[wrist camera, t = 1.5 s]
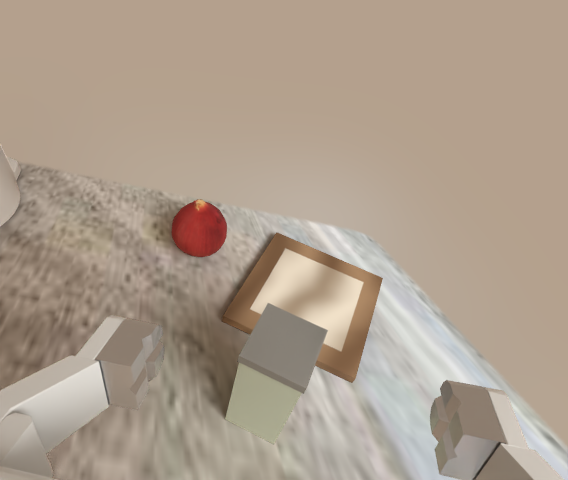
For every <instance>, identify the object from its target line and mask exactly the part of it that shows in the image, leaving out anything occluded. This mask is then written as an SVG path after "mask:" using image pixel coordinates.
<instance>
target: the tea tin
mask: <svg viewBox="0 0 568 480" xmlns="http://www.w3.org/2000/svg"><path fill="white" fill-rule="evenodd" d="M327 332H328V330H326V329H324V328H322V327H320V326H318V325H315V324H313V323H311V322H309V321H307V320H304V319H302V318H300V317H298V316H296V315H294V314H291V313H289V312H287V311H285V310H283V309H281V308H278V307H276V306H274V305H272V304H270V303H268V304H267V305H266V307H265V309H264V311H263V313H262V314H261V316H260V318H259V320H258V322H257V324H256V325H255V327H254V329H253V331H252V333H251V334H250V336H249V338H248V340H247V342H246V344H245V345H244V347H243V349H242V351H241V353H240V354H239V357H238V361H237V362H239V365H238V369H237V373H236V377H235V381H234V385H233V389H232V393H231V397H230V401H229V405H228V410H227V414H226V418H225V420H227V421H229V422H231V423H233V424H235V425H237V426H239V427H241V428H243V429H245V430H247V431H249V432H251V433H253V434H254V435H256V436H258V437H260V438H262V439H264V440H266V441H268V442H270V443H272V444H274V443H275V441H276V439H277V438H278V436H279V434H280V432H281V430H282V428H283V427H284V425H285V423H286V421H287V419H288V417H289V416H290V414H291V412H292V410H293V408H294V406H295V405H296V403H297V401H298V399H299V397H300V395H301V394H302V393H303V394H304V392H305V390H306V388H307V386H308V383H309V380H310V377H311V375H312V372H313V369H314V367H315V364H316V361H317V359H318V356H319V353H320V350H321V348H322V345H323V342H324V340H325V337H326V334H327Z"/></svg>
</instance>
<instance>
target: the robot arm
mask: <svg viewBox="0 0 568 480" xmlns="http://www.w3.org/2000/svg"><path fill="white" fill-rule="evenodd" d="M20 171H21V168H20V166H19V164H18V162H17V160H15V159H12V158H9V157H7V156H6V154H5V152H4V150H3V148H2V146H1V143H0V227H1V226H2V225H3V224H4V223H5V222H7V221H8V220H9V219H10V218H11V216H12V215H13V214H14V213H15V211H16V209H17V208H18V205H19V202H20V191H19V188H18V185H17V179H18V176H19V174H20ZM162 335H163V331H162V326H160V325H157V324H153V323H148V322H144V321H139V320H135V319H130V318H125V317H120V316H115V315H110V316H108V317H107V318H106V319H105V320H104V321H103V322H102V323H101V325H100V326H99V327H98V328H97V330H96V331H95V332H94V333H93V335H92V336H91V337H90V338H89V340H88V341H87V342H86V343H85V345H84V346H83V347H82V348H81V350H80V351H79V352H78V353H77V354H76V356H72V355H70V356H68V357H66V358H64V359H62V360H60V361H58V362H56V363H54V364H52V365H50V366H48V367H46V368H44V369H42V370H40V371H38V372H36V373H34V374H32V375H30V376H28V377H26V378H24V379H22V380H20V381H18V382H16V383H14V384H12V385H10V386H8V387H6V388H4V389H2V390H0V480H59V479H55V478H52V476H53V469H52V467H51V464H50V462H49V460H48V457H47V455H46V454H47V453H48V452H49V451H50V450H52V449H53V448H54V447H56V446H57V445H58V444H60V443H61V442H62V441H64V440H65V439H66V438H68V437H69V436H70V435H72V434H73V433H74V432H76V431H77V430H78V429H80V428H81V427H82V426H84V425H85V424H86V423H88V422H89V421H90V420H92V419H93V418H94V417H96V416H97V415H98V414H100V413H101V412H102V411H104V410H105V409H106V408H108V407H109V405H112V406H118V407H123V408H129V409H134V410H138V409H139V407H140V406H141V404H142V402H143V400H144V398H145V396H146V395H147V393H148V391H149V386H148V382H149V381H150V380H152V379H154V378H155V377H156V376H157V374H158V372H159V370H160V368H161V365H162V362H163V358H164V345H163V344H162V342H161V341H160V338H161V337H162ZM440 390H441V395H442V396H440V397H438V398H436V399H435V400H434V402H433V405H432V407H431V414H430V425H431V431H432V434H433V436H434V437H435V438H436V439H437V441H438V442H439V443H438V445H437V446H436V448H435V453H436V458H437V464H438V469H439V474H440V475H444V476H448V477H453V478H457V479H461V480H564V479H563V478H562V477H561V476H560V475H559V474H558V473H557V472H556V471H555V470H554V469H553V468H552V467H551V466H550V465H549V464H548V463H547V462H546V461H545V460H544V459H543V458H542V457H541V456H540V455H539V454H538V453H537V452H536V451H535V450H532V449H529V448H528V445H527V443H526V440H525V438H524V435H523V433H522V430H521V428H520V425H519V423H518V420H517V418H516V416H515V413H514V411H513V408H512V406H511V403H510V401H509V398H508V396H507V394H506V393H505V392H504V391H502V390H496V389H491V388H486V387H481V386H476V385H470V384H465V383H459V382H454V381H448V380H446V381H445V382H443V384H442V386H441V388H440Z"/></svg>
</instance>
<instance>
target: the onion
mask: <svg viewBox="0 0 568 480" xmlns="http://www.w3.org/2000/svg"><path fill="white" fill-rule="evenodd" d="M226 234H227V224H226V221H225V218H224V217H223V215H222V213H221V212H220V210H219V209H218V208H216V207H215V206H213V205H212V204H210V203H208V202H204V201H203V200H201V199H198V200H196V201H194V202H192V203H189V204H187V205H186V206H184V207H183V208H181V210H180V211H179V212H178V213H177V215H176V216H175V217H174V219H173V223H172V238H173V240H174V242H175V244H176V245H177V247H178V248H179V249H180V250H182V251H183V252H184V253H187V254H189V255H191V256H197V257H205V256H210V255H212V254H213V253H215V252H217V251H218V250H219V249H220V248H221V246H222V245H223V243H224V242H225V239H226Z"/></svg>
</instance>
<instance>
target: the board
mask: <svg viewBox="0 0 568 480" xmlns="http://www.w3.org/2000/svg"><path fill="white" fill-rule="evenodd" d="M382 279H383V278H381V277H379V276H377V275H374V274H372V273H370V272H367V271H365V270H363V269H360V268H358V267H356V266H353V265H351V264H349V263H346V262H344V261H342V260H339V259H337V258H335V257H333V256H330V255H328V254H326V253H323V252H321V251H319V250H316V249H314V248H312V247H309V246H307V245H305V244H302V243H300V242H298V241H295V240H293V239H291V238H288V237H286V236H284V235H281V234H279V233H276V234H275V236H274V237H273V239H272V240H271V242H270V244H269V245H268V247H267V248H266V250H265V251H264V253H263V254H262V256H261V257H260V259H259V261H258V262H257V264H256V265H255V267H254V268H253V270H252V271H251V273H250V274H249V276H248V278H247V279H246V281H245V282H244V284H243V285H242V287H241V288H240V290H239V291H238V293H237V295H236V296H235V298H234V299H233V301H232V302H231V304H230V305H229V307H228V309H227V310H226V312H225V313H224V315H223V318H222V321H223V322H225V323H227V324H229V325H231V326H233V327H235V328H237V329H239V330H242V331H244V332H246V333H248V334H251V333H252V331H253V329H254V327H255V325H256V324H257V322H258V320H259V318H260V316H261V314H262V313H263V311H264V309H265V307H266V305H267V304H268V303H270V304H272V305H274V306H276V307H278V308H281V309H283V310H285V311H287V312H289V313H291V314H294V315H296V316H298V317H300V318H302V319H304V320H307V321H309V322H311V323H313V324H315V325H318V326H320V327H322V328H324V329H326V330H328V332H327V334H326V337H325V340H324V342H323V345H322V348H321V350H320V353H319V356H318V359H317V361H316V364H315V366H317V367H319V368H322V369H324V370H326V371H328V372H330V373H332V374H334V375H336V376H338V377H340V378H343V379H345V380H347V381H349V382H351V383H352V382H353V381H354V380H355V378H356V374H357V371H358V367H359V363H360V360H361V356H362V352H363V349H364V345H365V341H366V338H367V334H368V330H369V327H370V323H371V319H372V316H373V312H374V308H375V305H376V301H377V297H378V294H379V290H380V286H381V283H382Z"/></svg>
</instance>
